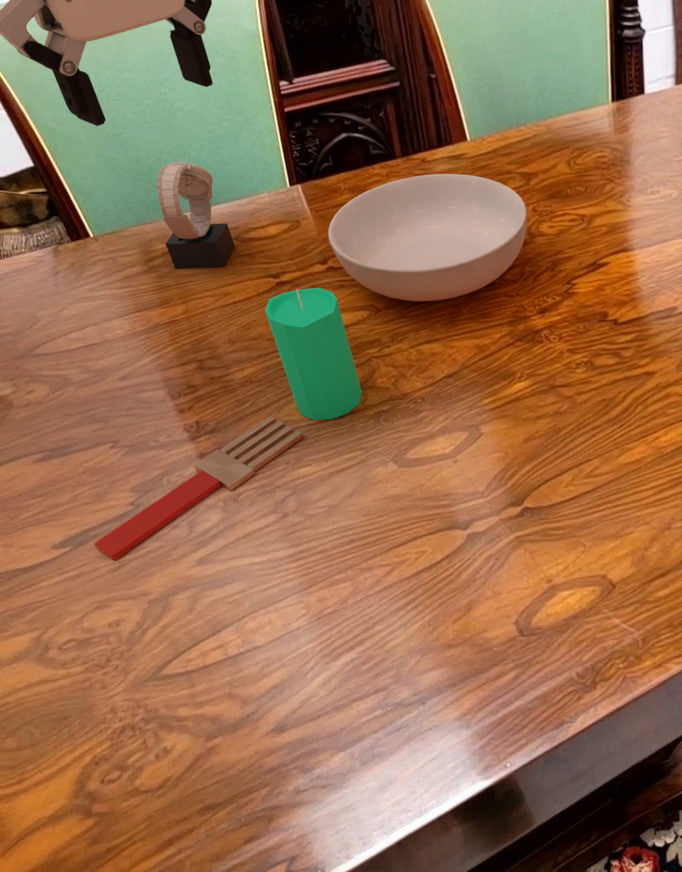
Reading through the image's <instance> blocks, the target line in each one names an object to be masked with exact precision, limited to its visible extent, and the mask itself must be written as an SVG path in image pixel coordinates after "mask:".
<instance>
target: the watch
mask: <svg viewBox="0 0 682 872" xmlns="http://www.w3.org/2000/svg"><path fill="white" fill-rule="evenodd" d="M156 187H157V189H156V190H157V196H158V204H159V208H160V210H161V213H162V216H163V217H162V219H163V222H165V224H166V225H167V227H168V229H169V230H170V231H171V232H172V233H171V235H170V237H169V238H168V239H167V240H166V242H165V246H166V249H167V251H168V254H169V257H170V259H171V262H172V264H173V267H174V269H205V268H225V267H226V266H227V263H228V261H229V260H230V258H231V256H232V254H233V252H234V251H235V249H236V245H235V243H234V239H233V237H232V233H231V231H230V228H229V224H228V223H227V222H226V223H225V222H223V223H211V221H212V204H211V203H212V202H211V200H212V199H213V176H212V174H211V173H210V172H209V171H208V170H207V169H205V168H204V167H203V166H202V167H201V166H199V165H197V164H195V163H190V162H186V161H174V162H171V163H168V164H166V165H162V166H161V169H160V170H159V173H158V175H157V181H156ZM180 197H181V198H182V199H183V200H185V201H187V200H188V204H189V205H188V206H189V212H190V214H189V217H188V215H187V214H184V213H183V210H182V206H181V202H180Z"/></svg>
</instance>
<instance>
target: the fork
mask: <svg viewBox="0 0 682 872" xmlns="http://www.w3.org/2000/svg"><path fill="white" fill-rule="evenodd" d="M303 438H304V434H303V432H302V431H300V430H298V429H296V430H294V427H292V426H291V425H286V423H285V422H283V421H281V420H277V419H276V418H275V417H273V416H272V415H269V416H268V417H266V418H265V419H263V420H262V421H260V422H259V423H256V425H254V426H252V427H251V428H250V429H248V430H246V431H245V432H244V433H243V434H241V435H239V436H238V437H237V438H235V439H233V440H231V442H229V443H228V444H226V445H224V446H223V447H222V448H220V449H219V448H216V449H215V450H213V451H212V452H211V453H209V454H207V455H206V456H205V457H203V458H201V459H200V460H198V461H197V462H196V463H194V464H193V467H194V469H195V470H196V471H198V472H197V473H196V474H194V475H193V476H191V477H190V478H189V479H187V480H185V481H184V482H182V483H180V485H178V486H177V487H174V489H172V490H171V491H169V492H168V493H166V494H165V495H164V496H162V497H160V498H159V499H157V500H156V501H154V502H153V503H152V504H150V505H149V506H147V507H145V508H144V509H143V510H141V511H139V512H138V513H136V514H135V515H134V516H132V517H130V518H129V519H128V520H126V521H125V522H123V523H122V524H121V525H119V526H118V527H115V529H113V530H112V531H110V532H108V533H107V534H105V535H104V536H102V537H101V538H100V539H98V540H97V541H95V542H94V543H93V544H94V546H95V548H96V550H99V551H100V552H101V553H103V554H104V555H106V556H107V557H108V558H110V559H111V560H112V561H116V560H118V559H119V558H120V557H122V556H123V555H125V554H127V553H128V552H129V551H131V550H132V549H133V548H135V547H136V546H138V545H139V544H141V543H142V542H143V541H145V540H146V539H148V538H149V537H150V536H152V535H153V534H155V533H156V532H158V531H159V530H160V529H162V528H164V527H166V525H168V524H169V523H171V522H172V521H173V520H175V519H176V518H178V517H179V516H180V515H182V514H183V513H185V512H187V511H188V510H190V509H191V508H192V507H193V506H195V505H197V503H199V502H200V501H201V502H202V500H204V499H205V498H207V497H208V496H209V495H211V494H213V492H215V491H216V490H218V489H219V488H221V487H224V488H225V489H227V490H229V491H231V492H232V491H234V490H235V489H236V488H238V487H239V486H241V485H242V484H243V483H245V482H247V481H248V480H249V479H250V478H252V477H253V476H254V475H256V472H257V471H258V470H260V469H262V468H263V467H264V466H265V465H267V464H268V463H269V462H271V461H272V460H274V459H275V458H277V457H279V455H281V454H282V453H284V452H285V451H287V450H288V449H289V448H291V447H293V446H294V445H295V444H297V443H298V442H300V441H301V440H302V439H303Z"/></svg>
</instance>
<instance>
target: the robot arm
mask: <svg viewBox="0 0 682 872" xmlns="http://www.w3.org/2000/svg"><path fill="white" fill-rule="evenodd" d="M212 4H213V2H212V0H8V1H7V3H6V4H5V5H4V6H3V7H2V8H1V9H0V36H2V37H3V38H4V40H5V41H7V42H8V43H9V44H10V45H11V46H13V47H14V48H15V49H16V51H17V52H18V53H19V54H20V55H22V56H24V57H25V58H28V59H30V60H31V61H33V62H36V63H38V64H40V65H41V66H43V67H44V68H46V69H49V70H51V71H52V74H53V75H54V78H55V81H56V83H57V85H58V88H59V91H60V94H61V96H62V98H63V100H64V103H65V105H66V107H67V109H68V111H69V112H70V113H71V114H72V115H73V116H76V117H77V119H79V120H81V121H84V122H86V123H89V124H90V125H93V126H96V127H100V126H103V125H105V122H106V117H105V114H104V111H103V109H102V107H101V104H100V101H99V98H98V96H97V94H96V90H95V88H94V86H93V83H92V79H91V77H90V75H89V74H88V72H85V71H83V70H80V68H79V66H80V63H81V61H82V57H83V54H84V51H85V47H86V44H87V42H92V41H96V40H101V39H105V38H108V37H111V36H116V35H118V34H122V33H125V32H128V31H132V30H135V29H138V28H141V27H145V26H149V25H152V24H155V23H159V22H161V21H162V22H163V21H166V22H168V23H169V24H170V25H171V26H173V28H174V29H172V30H169V33H170V34H169V38H170V41H171V44H172V47H173V50H174V54H175V57H176V59H177V64H178V67H179V70H180V73H181V76H182V77H183V79H184V80H185V81H187V82H190V83H193V84H196V85H199V86H201V87H205V88H208V87H210V86H213V84H214V83H213V79H212V75H211V72H210V70H211V64H210V60H209V57H208V53H207V50H206V46H205V43H204V40H203V36H202V35H204V34H205V33H206V30H207V25H206V23H205V22H206V19H207V18H208V15H209V13H210V9H211V8H212ZM32 19H34V20H35V22H36V23H37V26H38V27H39V28H40V29H42V30H44V31H46V32H48V33H47V35H46V39H45V43H44V44H43V43H41V42H38V41H37V40H36V39H35V38H34V37H33V36H32V35H31V34H30V32H29V30H28V29H27V25H28V24H29V22H30V21H31V20H32Z"/></svg>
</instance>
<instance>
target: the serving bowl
mask: <svg viewBox="0 0 682 872" xmlns="http://www.w3.org/2000/svg"><path fill="white" fill-rule="evenodd" d="M527 224H528V211H527V206H526V204H525V202H524V200H523V198H522V197H521V195H520V194H518V192H516V190H514V189H512V188H511V187H509V186H507V185H505V184H504V183H501V182H498V181H496V180H492V179H490V178H487V177H482V176H476V175H472V174H471V175H470V174H462V173H461V174H457V173H435V174H434V173H433V174H423V175H416V176H410V177H405V178H400V179H396V180H393V181H390V182H387V183H383V184H381V185H378V186H376V187H373V188H371V189H369V190H366V191H364V192H361V193H360V194H359V195H357V196H355V197H354V198H353V199H351V200H349V201H347V203H345V204H344V205H343V206H342V207H341V208H339V210H338V211H337V212H336V213H335V215H334V216H333V217H332V219H331V221H330V223H329V226H328V231H327V235H328V242H329V245H330V247H331V249H332V251H333V254H334V255H335V258H336V259H337V260H338V262H339V264H340V265H341V267H342V268H343V269H344V270H345V272H346V273H347V274H348V275H349V276H350V277H351V278H352V279H353V280H354V281H356V282H358V284H360V285H361V286H363V287H365V288H367V289H368V290H370V291H372V292H375V293H377V294H378V295H382V296H384V297H387V298H392V299H395V300H396V299H397V300H402V301H411V302H433V301H435V302H436V301H442V300H448V299H453V298H457V297H461V296H465V295H467V294H470V293H472V292H473V293H474V292H475V291H478V290H479V289H481V288H483V287H486V286H487V285H489V284H491V283H493V282H494V281H496V280H497V279H498V278H499V277H500V276H501V275H503V274H504V273H505V272H506V271H507V270H508V269H509V268H510V267H511V266H512V264H513V263H514V261H516V259H517V257H518V255H519V253H520V252H521V249H522V247H523V245H524V242H525V238H526V235H527V234H526V232H527Z"/></svg>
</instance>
